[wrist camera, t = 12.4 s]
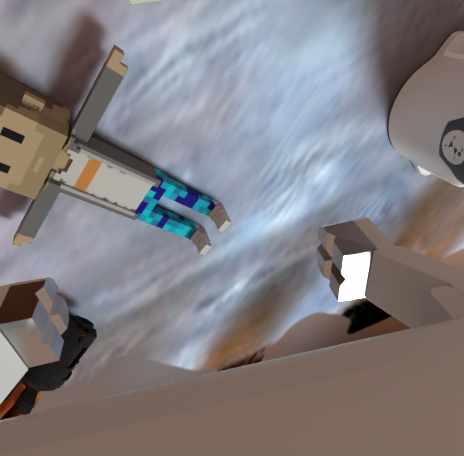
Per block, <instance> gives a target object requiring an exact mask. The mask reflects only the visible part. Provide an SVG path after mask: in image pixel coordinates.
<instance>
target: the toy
mask: <svg viewBox="0 0 464 456" xmlns="http://www.w3.org/2000/svg"><path fill="white" fill-rule="evenodd" d="M123 56H124V53H123V50H122V49H120V48H119V47H117V46H116V45H114V46H113V48H112V50H111V52H110V54H109V56H108V58H107V59H106V61H105V63H104V65H103V67H102V69H101V71H100V73H99V75H98V77H97V79H96V80H95V82H94V84H93V86H92V88H91V90H90V92H89V94H88V96H87V98H86V100H85V101H84V103H83V105H82V107H81V109H80V111H79V113H78V115H77V117H76V119H75V121H74V122H73V124H72V126H71V128H70V130H69V123H70V114H71V110H69V109H68V108H66V107H64V106H62V105H61V104H59V103H57V102H55V101H54V100H52V99H50V98H48V97H46V96H44V95H42V94H40V93H38V92H36V91H34V90H32V89H30V88H29V87H27V86H25V85H23V84H21V83H19V82H17V81H15V80H13V79H11V78H9V77H7V76H5V75H3V74H2V73H0V187H1V188H3V189H6V190H9V191H12V192H15V193H18V194H20V195H23V196H26V197H29V198H32V199H33V201H32V203H31V205H30V206H29V208H28V210H27V212H26V214H25V216H24V218H23V220H22V222H21V224H20V226H19V227H18V229H17V231H16V233H15V235H14V239H13V243H12V244H13V245H17V246H21V244H22V243H23V241H24V242H27V243H32V241H33V239H34V238H35V236H36V234H37V232H38V230H39V229H40V227H41V225H42V223H43V221H44V220H45V218H46V216H47V214H48V212H49V211H50V209H51V207H52V205H53V203H54V202H55V200H56V198H57V196H58V194H59V193H60V192H62V193H65V194H68V195H70V196H73V197H75V198H78V199H81V200H83V201H86V202H89V203H91V204H94V205H97V206H99V207H102V208H104V209H107V210H110V211H112V212H115V213H118V214H120V215H123V216H126V217H128V218H131V219H133V220H135V219H139V220H141V221H144V222H147V223H149V224H152V225H154V226H157V227H160V228H162V229H165V230H167V231H170V232H173V233H175V234H178V235H180V236H183V237H186V238H188V239H190V241H191V242H193V244H195V245H196V246H197V249H198V252H199V254H201V255H205V254H206V253H207V252H208V250H209V249H210V248H211V247H212V246H211V243H210V241H209V238H208V235H207V233H206V230H205V228H204V227H202V226H201V225H199V224H197V223H195V222H193V221H190V220H188V219H185V218H183V217H181V216H178V215H176V214H174V213H171V212H169V211H166V210H164V209H162V208H159V207H157V206H155V205H156V204H157V202H158V201H159V199H160V198H161V197H162V196H165V197H167V198H169V199H171V200H174V201H176V202H178V203H180V204H183V205H185V206H187V207H189V208H192V209H194V210H196V211H198V212H201V213H203V214H205V215H207V216H208V217H209V218H210V219H212V221H214V222H215V224H216V226H217V229H218V230H219V231H221V232H224V231H225V230H226V229H227V227H228V226H229V225H230V224H231V221H230V219H229V217H228V215H227V213H226V210H225V208H224V206H223V204H221V203H219V202H217V201H215V200H214V199H212V198H210V197H208V196H206V195H204V194H202V193H200V192H198V191H196V190H193V189H191V188H189V187H187V186H185V185H183V184H181V183H179V182H177V181H175V180H173V179H171V178H169V177H168V176H167V173H165V172H163V171H161V170H159V169H157V168H155V167H153V166H150V165H148V164H146V163H144V162H142V161H140V160H138V159H136V158H134V157H132V156H130V155H128V154H126V153H124V152H122V151H120V150H118V149H116V148H114V147H112V146H110V145H108V144H106V143H104V142H102V141H100V140H98V139H96V138H94V137H91V135H92V133H93V131H94V130H95V128H96V126H97V124H98V122H99V121H100V119H101V117H102V115H103V113H104V112H105V110H106V108H107V106H108V104H109V102H110V101H111V99H112V97H113V95H114V93H115V92H116V90H117V88H118V86H119V84H120V83H121V81H122V79H123V77H124V75H125V74H126V72H127V70H128V67H127V66H126V65H125V64H123V63H122V62H121V60H122V58H123ZM68 131H69V132H68Z"/></svg>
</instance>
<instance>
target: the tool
mask: <svg viewBox="0 0 464 456" xmlns="http://www.w3.org/2000/svg"><path fill="white" fill-rule="evenodd" d="M93 327H94V326H93V323H92V322H90V321H89V320H87V319H85V318H82V317H79V316H74V317H72V316H70V315H69V323H68V327H67V329H66V330H65V331H64V332H63V333H62V335H61V337H62V338H63V340H64V343H63V347H62V351H61V355H60V359H59V361H55V362H51V363H47V364H42V365H38V366H34V367H30V368H28V371H27V372H26V373H25V374H24V376H23V377H22V378H21V379H20V380H19V382H18V383H17V384H16V385H15V387H14V388H13V389H12V390H11V392H10V393H9V394H8V395H7V397H6V398H5V399H4V400H3V402H2V403H1V404H0V420H4V419H8V418H13V417H17V416H22V415H26V414H29V413H30V412H31V410H32V408H34V407H35V405H36V404H37V402H38V399H39V397H40V395H41V394H42V393H43V391H51V390H55V389H57V388H59V387H60V386H61V385H63V383H64V382H65V381H67V380H68V379H69V378H70V376H71V374H72V370H74V367H75V365H76V364H78V363H79V359H80V358H81V357H82V355H83V354H84V353H85V351H86V350H87V349H88V348H89V347H90V345H91V344H92V343H93V342H94V340H95V339H96V337H97V334H96V330H95V329H94V328H93Z"/></svg>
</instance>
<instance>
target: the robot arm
mask: <svg viewBox="0 0 464 456" xmlns="http://www.w3.org/2000/svg"><path fill="white" fill-rule="evenodd" d="M389 137H390V140H391V143H392V145H393V147H394V149H395V150H396V151H397V152H398V153H399V154H400V155H402V156H403V157H405V158H407V159H409V160H410V161H411V162H412V164H413V166H414V168H415V169H416V171H417V172H418V173H420V174H422V175H430V174H434V175H436V176H438V177H440V178H442V179H444V180H446V181H448V182H450V183H452V184H454V185H456V186H459V187H463V186H464V31H456V32H454V33H453V34H451V35H450V36H449V37H448V38H447V40H446V41H445V42H444V44H443V45H442V46H441V48H440V49H439V51H438V52H437V53H436V55H435V56H434V57H433V58H432V59H430V60H429V61H428V62H427V63H425V64H424V65H423V66H422V67H420V68H419V69H418V70H417V71H416V72H415V73H414V74H413V75H412V76H411V77H410V78H409V79H408V81H407V82H406V83H405V85H404V86H403V87H402V89H401V90H400V92H399V94H398V96H397V98H396V100H395V102H394V104H393V107H392V110H391V114H390V118H389ZM318 239H319V240H320V242H321V244H320V245H319V246H318V248H317V261H318V266H319V268H320V271H321V273H322V275H323V276H324V277H325V278H327V279H329V280H330V285H329V287H330V288H331V290H332V292H333V293H334V295H335V297H336V298H337V300H338V302H340V301H345V300H351V299H356V298H362V297H365V298H366V299H367V300H369V301H370V302H372V303H373V304H375V305H376V306H378V307H379V308H381V309H383V310H384V311H386V312H387V313H389V314H390V315H392V316H393V317H395V318H397V319H398V320H400V321H401V322H403V323H404V324H406V325H407V326H409V327H410V328H412V329H407V330H403V331H399V332H394V333H389V334H385V335H380V336H376V337H372V338H367V339H362V340H358V341H354V342H349V343H345V344H340V345H336V346H331V347H327V348H322V349H318V350H313V351H309V352H304V353H300V354H295V355H291V356H286V357H282V358H277V359H273V360H268V361H264V362H259V363H255V364H250V365H246V366H241V367H237V368H232V369H228V370H223V371H219V372H214V373H210V374H205V375H201V376H196V377H192V378H188V379H183V380H178V381H174V382H170V383H165V384H161V385H156V386H152V387H147V388H143V389H139V390H134V391H130V392H125V393H120V394H116V395H111V396H107V397H102V398H98V399H93V400H89V401H85V402H80V403H75V404H71V405H67V406H62V407H57V408H53V409H49V410H45V411H40V412H35V413H31V414H26V415H22V416H17V417H13V418H8V419H4V420H0V456H464V270H462V269H460V268H457V267H454V266H452V265H449V264H446V263H444V262H441V261H439V260H436V259H433V258H431V257H428V256H425V255H423V254H420V253H417V252H415V251H412V250H410V249H407V248H404V247H402V246H396V247H395V246H394V245H393V244H392V243H391V242H390V241H389V240H388V238H387V237H386V236H385V235H384V234H383V233H382V232H381V231H380V230H379V229H378V228H377V227H376V226H375V225H374V224H373V223H372V221H371V220H370V219H369V218H366V217H363V218H359V219H354V220H350V221H347V222H342V223H336V224H331V225H326V226H321V227H319V230H318ZM57 288H58V286H57V285H56V283H55V281H54V280H53V279H52V278H43V279H37V280H31V281H25V282H19V283H14V284H8V285H2V286H0V404H1V403H2V402H3V400H4V399H5V398H6V397H7V395H8V394H9V393H10V392H11V390H12V389H13V388H14V387H15V385H16V384H17V383H18V382H19V380H20V379H21V378H22V377H23V376H24V374H25V373H26V372H27V371H28V368H30V367H34V366H38V365H42V364H47V363H51V362H55V361H59V359H60V355H61V351H62V347H63V343H64V340H63V338H62V337H61V335H62V333H63V332H64V331H65V330H66V329H67V327H68V323H69V310H68V307H67V303H66V301H65V299H64V298H63V297H61V296H59V295H58V294H56V292H57Z"/></svg>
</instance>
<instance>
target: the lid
mask: <svg viewBox="0 0 464 456" xmlns="http://www.w3.org/2000/svg"><path fill="white" fill-rule="evenodd" d="M152 1H160V0H130V4H135V3H143V2H152Z"/></svg>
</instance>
